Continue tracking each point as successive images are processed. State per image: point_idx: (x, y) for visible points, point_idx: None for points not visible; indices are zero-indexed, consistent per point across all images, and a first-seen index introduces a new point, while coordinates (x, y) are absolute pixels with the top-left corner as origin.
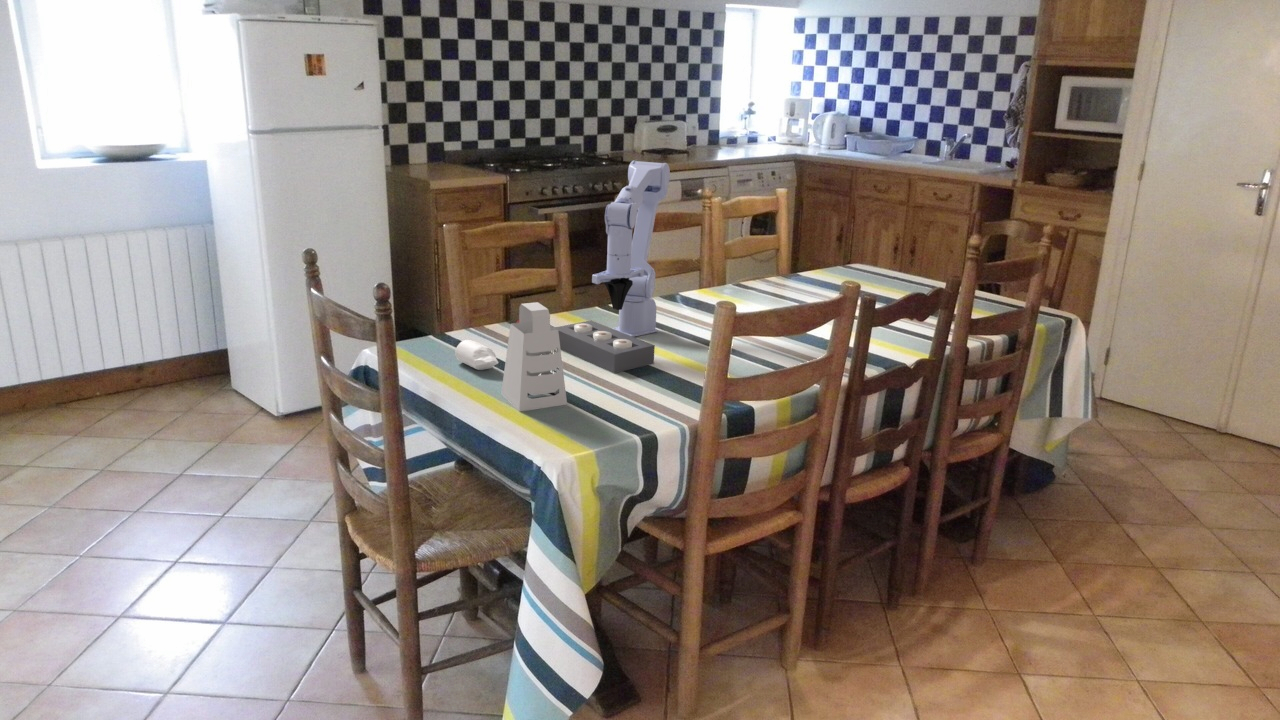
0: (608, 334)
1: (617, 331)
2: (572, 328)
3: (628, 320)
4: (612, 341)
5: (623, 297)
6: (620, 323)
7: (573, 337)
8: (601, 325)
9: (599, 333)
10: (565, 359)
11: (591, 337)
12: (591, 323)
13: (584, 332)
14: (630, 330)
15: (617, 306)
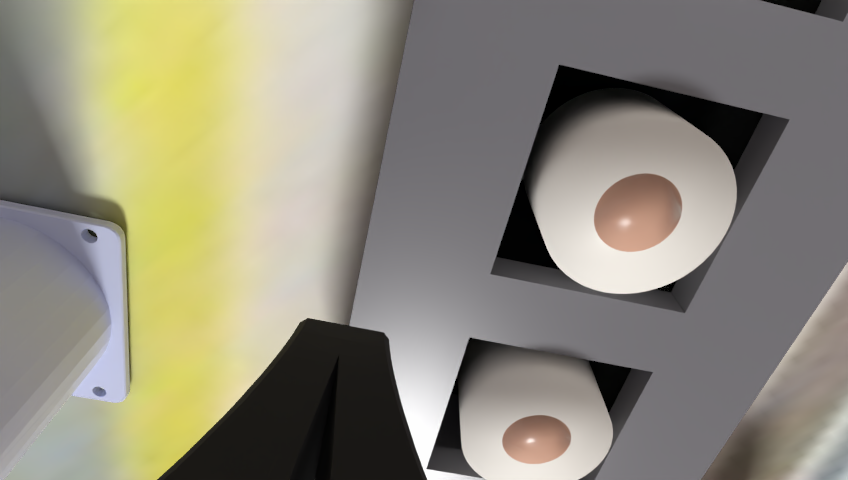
0: (622, 157)
1: (393, 196)
2: None
3: (30, 338)
4: (733, 16)
5: (266, 460)
6: (79, 374)
7: (782, 352)
8: None
9: (643, 240)
10: None
11: None
12: None
13: (586, 375)
14: (67, 274)
15: (390, 377)
